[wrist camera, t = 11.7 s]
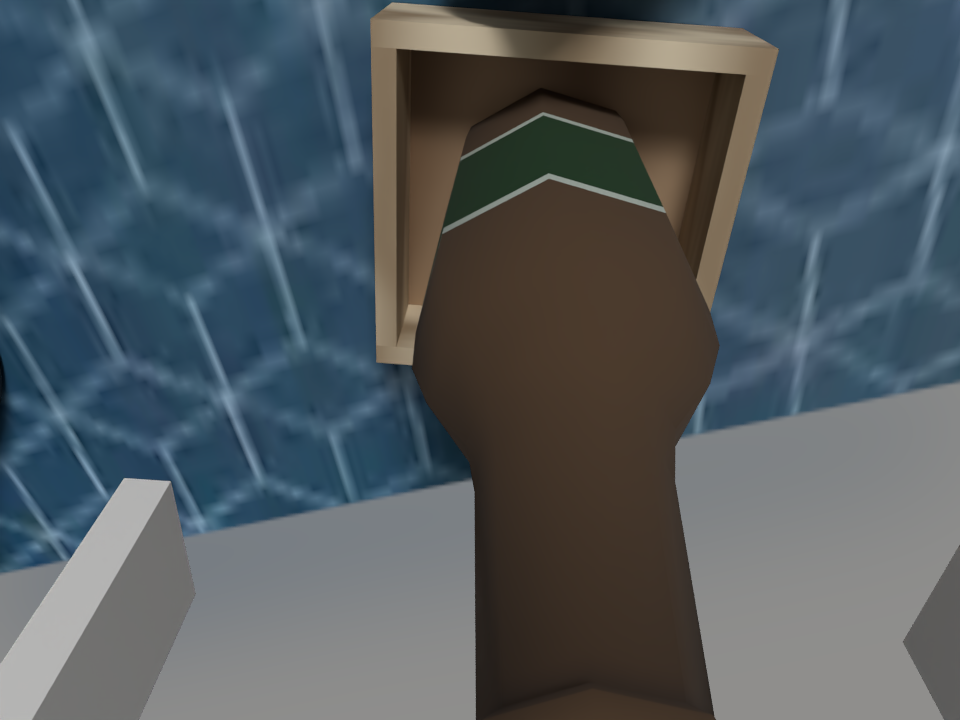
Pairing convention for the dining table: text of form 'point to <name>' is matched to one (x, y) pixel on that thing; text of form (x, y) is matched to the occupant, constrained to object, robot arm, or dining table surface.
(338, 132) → the dining table surface
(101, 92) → the dining table surface
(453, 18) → the caddy
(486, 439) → the beer bottle
